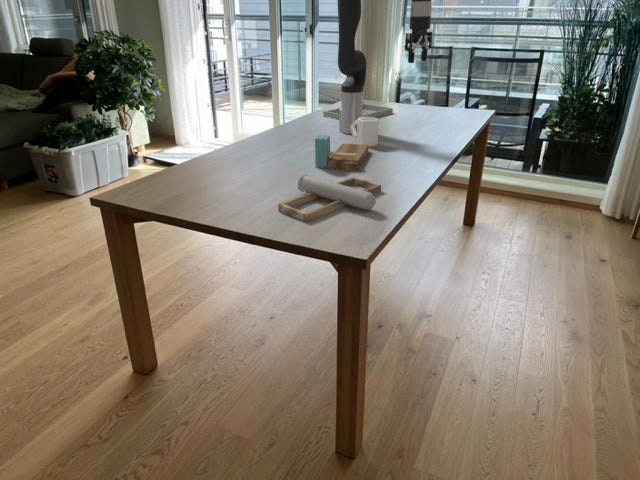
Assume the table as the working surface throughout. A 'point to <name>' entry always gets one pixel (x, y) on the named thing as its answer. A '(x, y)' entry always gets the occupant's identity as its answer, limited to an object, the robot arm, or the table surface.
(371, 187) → the tube rack
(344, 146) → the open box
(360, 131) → the mug
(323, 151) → the teal ice pop
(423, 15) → the robot arm
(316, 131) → the table surface
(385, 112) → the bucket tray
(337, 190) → the tube
